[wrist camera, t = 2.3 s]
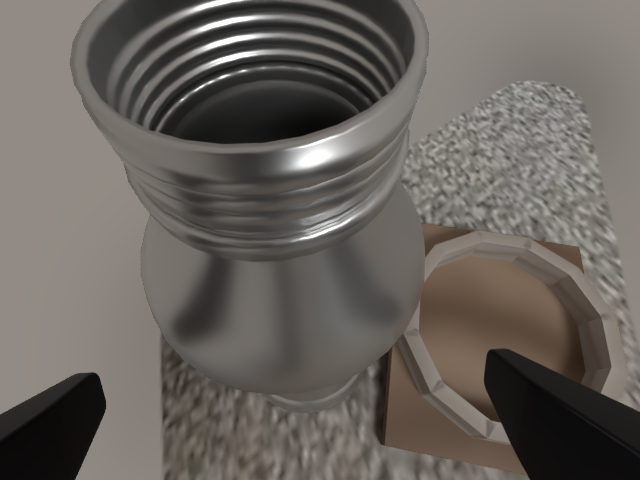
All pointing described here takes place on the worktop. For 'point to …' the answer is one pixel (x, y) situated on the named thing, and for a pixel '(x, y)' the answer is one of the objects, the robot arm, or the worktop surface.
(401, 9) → the silver bottle
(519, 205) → the worktop surface
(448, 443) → the square coaster with ring
